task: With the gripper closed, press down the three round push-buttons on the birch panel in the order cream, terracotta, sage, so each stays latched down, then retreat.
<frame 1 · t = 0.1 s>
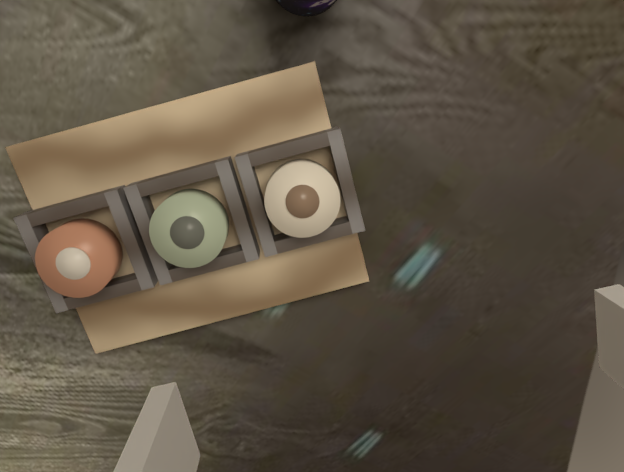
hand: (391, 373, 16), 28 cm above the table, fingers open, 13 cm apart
cream button: (302, 198, 37), point 5 cm above the table, slide at 1.5 cm
terracotta button: (79, 258, 37), point 5 cm above the table, slide at 1.5 cm
panel: (201, 212, 42), on the table
sage button: (190, 228, 37), point 5 cm above the table, slide at 1.5 cm
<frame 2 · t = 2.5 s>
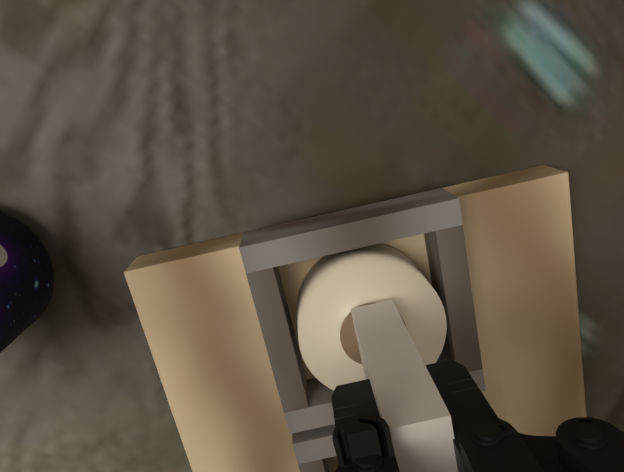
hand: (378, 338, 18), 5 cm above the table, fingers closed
cream button: (368, 320, 19), point 4 cm above the table, slide at 0.1 cm, touching gripper
panel: (387, 439, 25), on the table
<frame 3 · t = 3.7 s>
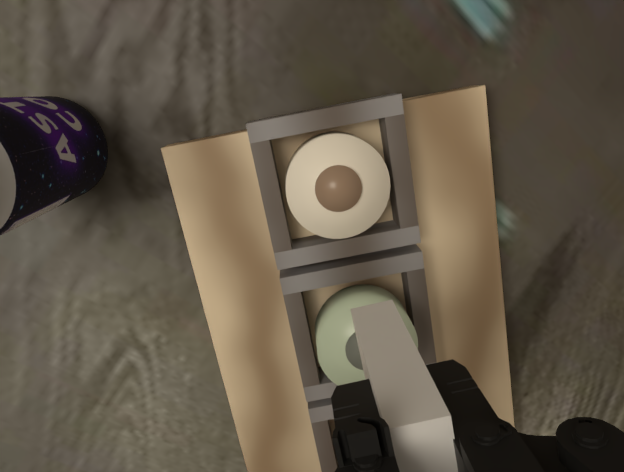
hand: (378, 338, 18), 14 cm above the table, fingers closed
cream button: (336, 184, 27), point 4 cm above the table, slide at 0.0 cm
beverage can: (64, 146, 30), on the table
panel: (353, 301, 33), on the table
sage button: (364, 338, 28), point 5 cm above the table, slide at 1.5 cm
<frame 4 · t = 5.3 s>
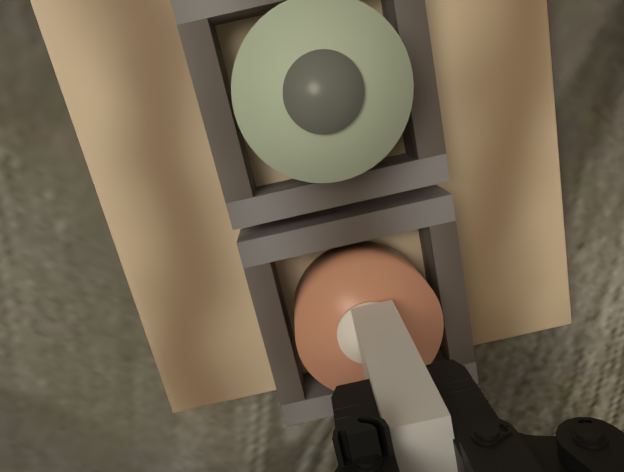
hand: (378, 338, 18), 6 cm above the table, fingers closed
terracotta button: (365, 318, 19), point 4 cm above the table, slide at 0.5 cm, touching gripper
panel: (311, 91, 21), on the table
sage button: (320, 92, 16), point 5 cm above the table, slide at 1.5 cm
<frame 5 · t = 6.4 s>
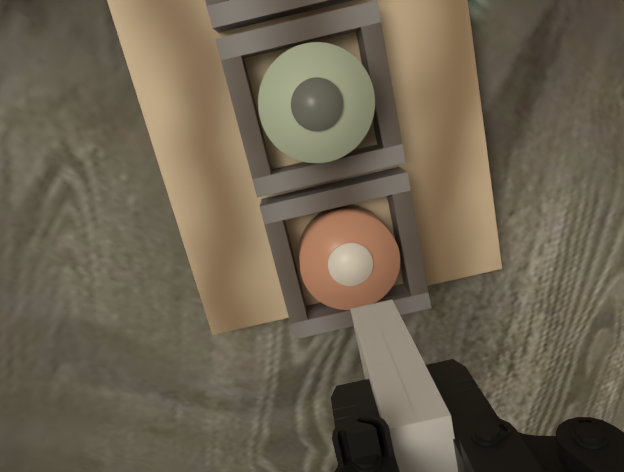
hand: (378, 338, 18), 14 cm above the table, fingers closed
terracotta button: (347, 257, 28), point 4 cm above the table, slide at 0.0 cm
panel: (310, 101, 29), on the table
sage button: (315, 104, 24), point 5 cm above the table, slide at 1.5 cm
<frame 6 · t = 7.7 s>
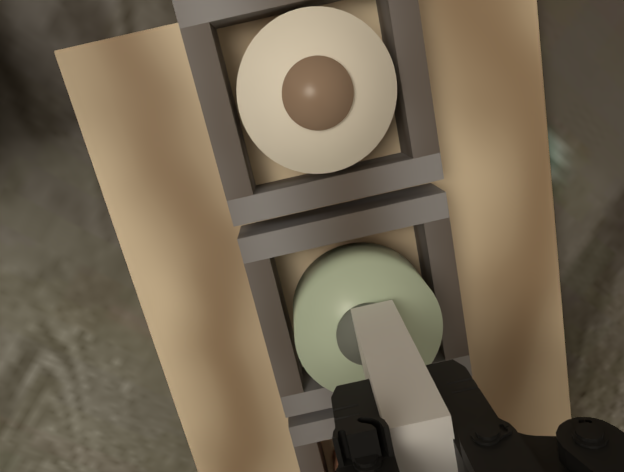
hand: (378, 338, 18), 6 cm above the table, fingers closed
cream button: (315, 93, 18), point 4 cm above the table, slide at 0.0 cm
panel: (348, 275, 24), on the table
sage button: (364, 319, 19), point 5 cm above the table, slide at 1.2 cm, touching gripper
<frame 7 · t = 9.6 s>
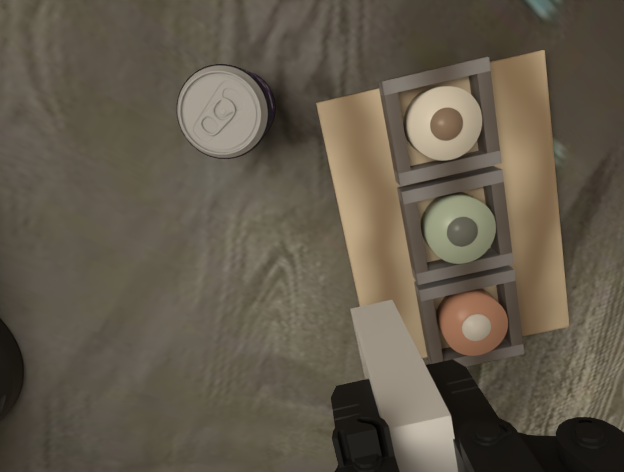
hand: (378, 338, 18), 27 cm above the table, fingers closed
cream button: (442, 123, 39), point 4 cm above the table, slide at 0.0 cm
terracotta button: (471, 321, 43), point 4 cm above the table, slide at 0.0 cm
beverage can: (241, 106, 42), on the table
panel: (445, 217, 45), on the table
sage button: (457, 227, 41), point 4 cm above the table, slide at 0.0 cm
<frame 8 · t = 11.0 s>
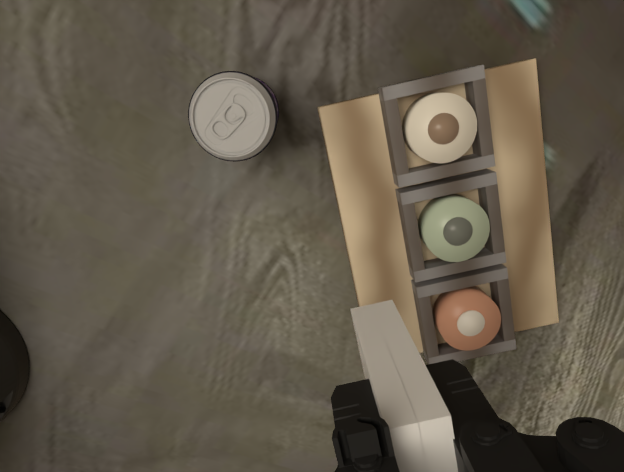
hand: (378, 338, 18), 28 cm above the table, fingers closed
cream button: (438, 127, 41), point 4 cm above the table, slide at 0.0 cm
terracotta button: (466, 317, 45), point 4 cm above the table, slide at 0.0 cm
beverage can: (245, 110, 43), on the table
panel: (440, 217, 46), on the table
sage button: (453, 227, 43), point 4 cm above the table, slide at 0.0 cm
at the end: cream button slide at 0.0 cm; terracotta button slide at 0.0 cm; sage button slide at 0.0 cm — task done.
